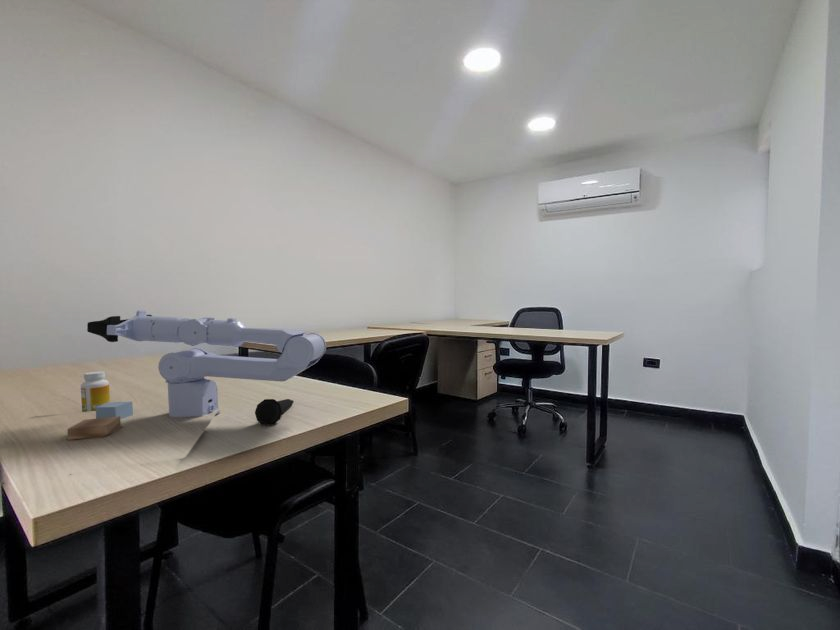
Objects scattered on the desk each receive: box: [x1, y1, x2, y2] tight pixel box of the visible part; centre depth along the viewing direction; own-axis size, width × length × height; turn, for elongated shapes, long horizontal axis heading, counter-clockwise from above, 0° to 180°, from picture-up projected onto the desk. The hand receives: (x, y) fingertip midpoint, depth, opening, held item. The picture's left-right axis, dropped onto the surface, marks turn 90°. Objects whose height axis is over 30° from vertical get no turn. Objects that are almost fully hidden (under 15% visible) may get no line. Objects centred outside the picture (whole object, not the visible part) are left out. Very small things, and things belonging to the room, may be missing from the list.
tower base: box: [65, 426, 123, 441], centre depth 74 cm, size 6×6×2 cm
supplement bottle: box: [80, 370, 111, 413], centre depth 95 cm, size 5×5×10 cm
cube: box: [95, 401, 134, 420], centre depth 85 cm, size 4×4×4 cm
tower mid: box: [66, 416, 122, 441], centre depth 74 cm, size 6×6×2 cm
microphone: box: [254, 398, 294, 425], centre depth 90 cm, size 6×6×20 cm
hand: (104, 325), depth 88 cm, fingers open, 7 cm apart
